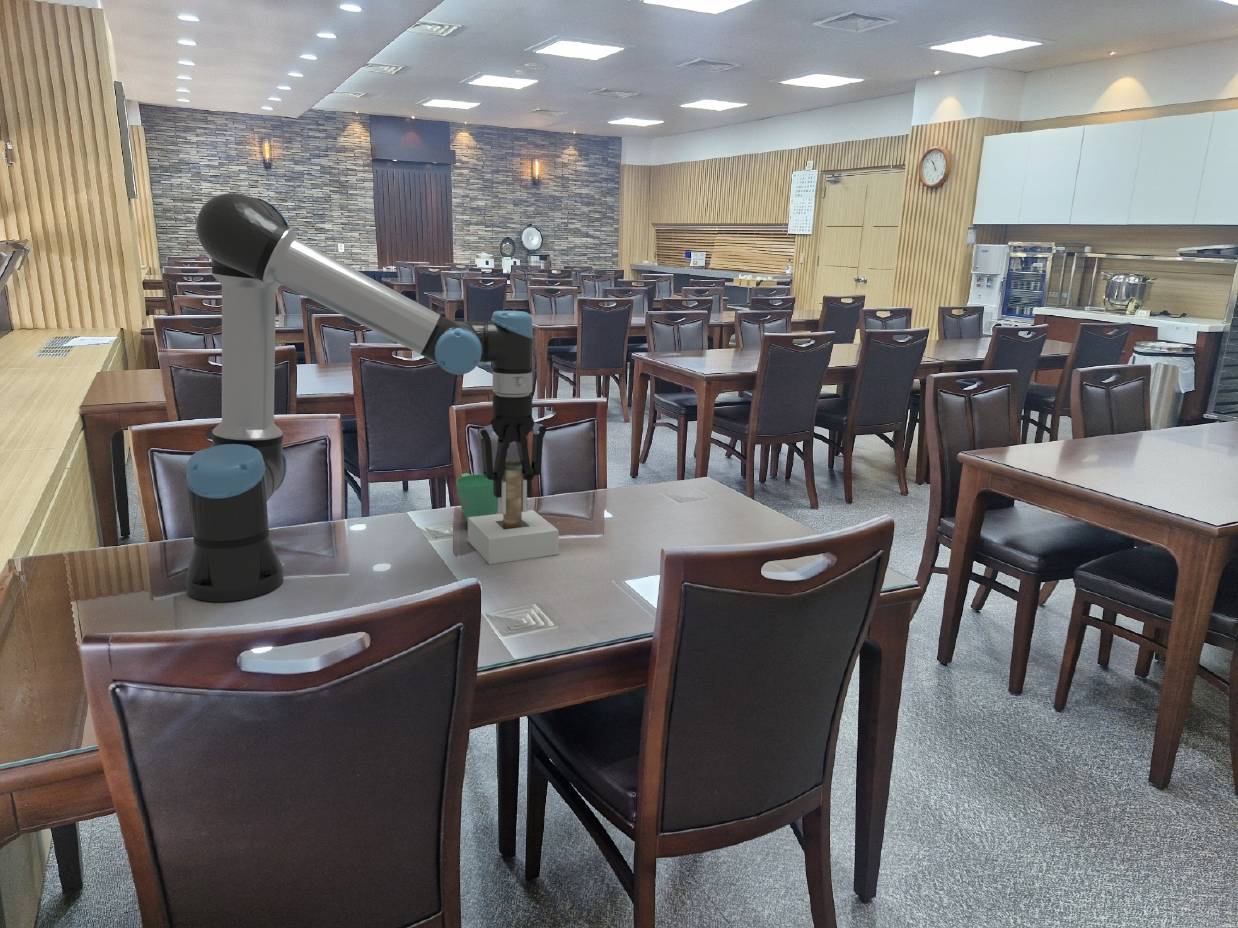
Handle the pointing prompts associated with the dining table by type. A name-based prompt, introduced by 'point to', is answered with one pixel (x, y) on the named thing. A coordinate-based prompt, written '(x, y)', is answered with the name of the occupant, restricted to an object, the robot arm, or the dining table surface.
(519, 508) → the peg
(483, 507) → the mug
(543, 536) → the socket block
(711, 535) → the dining table surface
